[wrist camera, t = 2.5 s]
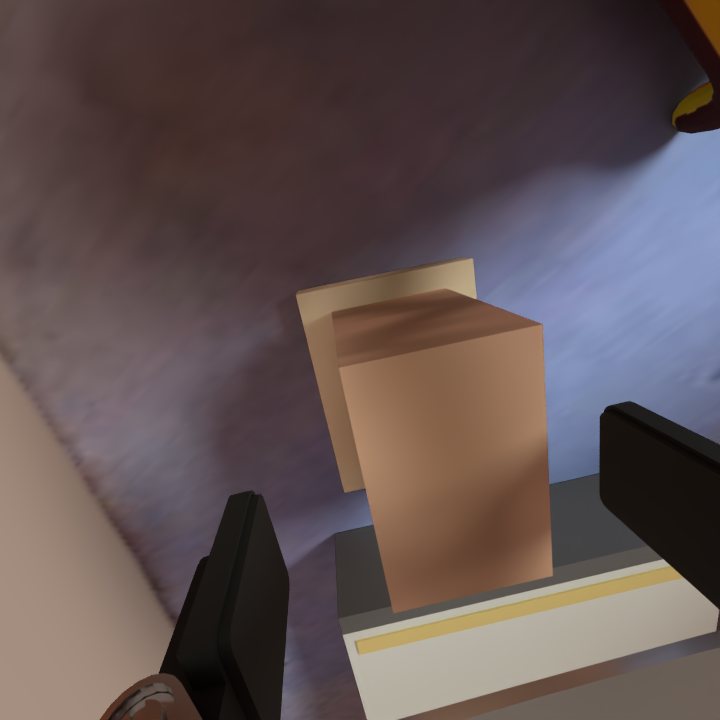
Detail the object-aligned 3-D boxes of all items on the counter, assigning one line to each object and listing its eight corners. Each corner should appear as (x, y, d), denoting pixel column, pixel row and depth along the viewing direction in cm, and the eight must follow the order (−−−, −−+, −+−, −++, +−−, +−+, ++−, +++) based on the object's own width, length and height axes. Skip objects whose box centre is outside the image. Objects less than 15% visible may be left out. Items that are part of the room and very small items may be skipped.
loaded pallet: (460, 256, 17) (594, 271, 9) (480, 444, 20) (593, 590, 12) (298, 290, 17) (272, 339, 9) (343, 475, 20) (357, 646, 12)
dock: (641, 464, 22) (733, 527, 17) (633, 636, 26) (704, 726, 21) (334, 534, 21) (338, 620, 16) (378, 697, 25) (391, 805, 21)
